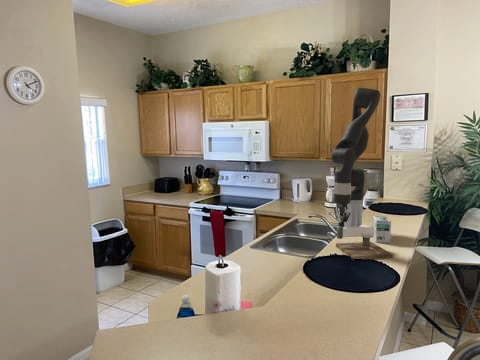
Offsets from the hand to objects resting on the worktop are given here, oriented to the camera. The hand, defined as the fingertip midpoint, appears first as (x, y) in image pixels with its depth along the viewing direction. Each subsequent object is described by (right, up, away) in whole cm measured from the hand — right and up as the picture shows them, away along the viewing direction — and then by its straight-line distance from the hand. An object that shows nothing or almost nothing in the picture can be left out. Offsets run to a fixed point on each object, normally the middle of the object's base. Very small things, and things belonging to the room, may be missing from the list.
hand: (341, 230), depth 158 cm
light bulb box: (+22, -7, +11) cm, 26 cm away
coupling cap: (+5, -3, -4) cm, 7 cm away
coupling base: (+7, -8, -7) cm, 13 cm away
